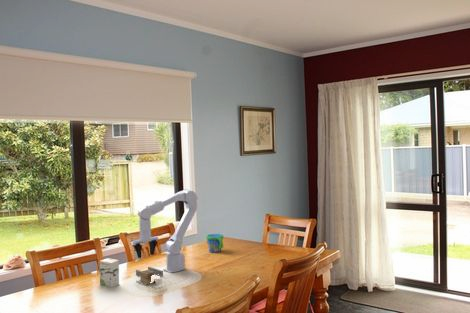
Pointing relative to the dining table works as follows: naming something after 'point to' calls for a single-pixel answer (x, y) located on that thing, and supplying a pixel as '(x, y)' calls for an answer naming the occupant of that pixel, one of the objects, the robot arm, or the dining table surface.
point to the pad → (141, 282)
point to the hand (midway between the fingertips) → (145, 256)
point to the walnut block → (146, 276)
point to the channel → (151, 270)
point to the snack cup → (215, 242)
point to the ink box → (109, 272)
